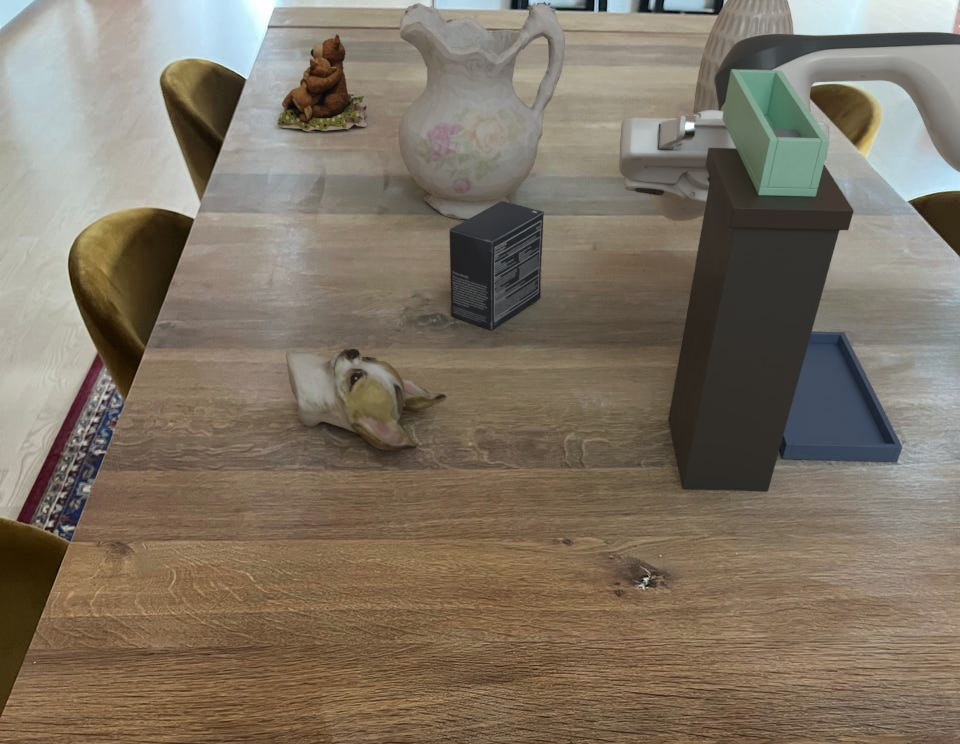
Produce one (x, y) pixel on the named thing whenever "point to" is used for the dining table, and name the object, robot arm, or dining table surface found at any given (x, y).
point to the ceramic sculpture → (356, 395)
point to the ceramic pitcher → (474, 108)
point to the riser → (748, 323)
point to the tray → (836, 408)
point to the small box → (496, 264)
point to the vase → (736, 39)
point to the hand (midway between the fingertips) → (739, 126)
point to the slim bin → (774, 133)
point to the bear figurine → (323, 94)
